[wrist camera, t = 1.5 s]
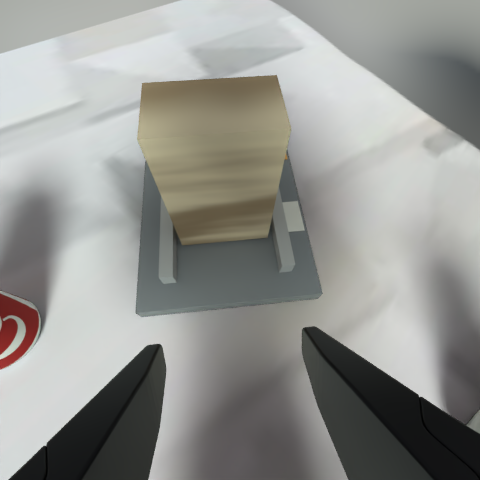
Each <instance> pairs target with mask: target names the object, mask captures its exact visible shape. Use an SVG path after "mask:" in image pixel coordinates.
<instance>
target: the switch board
mask: <svg viewBox="0 0 480 480" xmlns="http://www.w3.org/2000/svg"><path fill="white" fill-rule="evenodd" d="M322 294H323V293H322V289H321V285H320V281H319V277H318V273H317V269H316V265H315V261H314V257H313V253H312V249H311V245H310V241H309V237H308V233H307V228H306V224H305V220H304V216H303V212H302V208H301V204H300V200H299V196H298V192H297V188H296V184H295V180H294V176H293V172H292V168H291V164H290V160H289V156H288V152H287V150H286V155H285V160H284V164H283V169H282V173H281V178H280V183H279V187H278V192H277V196H276V201H275V206H274V210H273V215H272V219H271V224H270V229H269V233H268V238H258V239H247V240H237V241H226V242H215V243H204V244H193V245H182V244H181V241H180V239H179V237H178V234H177V232H176V230H175V227H174V225H173V223H172V220H171V218H170V216H169V213H168V211H167V208H166V206H165V204H164V201H163V199H162V197H161V194H160V192H159V190H158V187H157V185H156V182H155V180H154V178H153V175H152V173H151V171H150V168H149V166H148V164H147V161H146V162H145V177H144V192H143V207H142V222H141V237H140V252H139V267H138V283H137V298H136V314H138V315H140V316H141V317H147V316H156V315H166V314H175V313H185V312H194V311H204V310H213V309H223V308H233V307H242V306H252V305H261V304H271V303H280V302H290V301H299V300H309V299H318V298H319V297H320V296H321V295H322Z"/></svg>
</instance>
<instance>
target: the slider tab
mask: <svg viewBox="0 0 480 480" xmlns="http://www.w3.org/2000/svg"><path fill="white" fill-rule="evenodd" d="M290 132H291V126H290V122H289V119H288V115H287V111H286V108H285V104H284V100H283V96H282V93H281V89H280V85H279V82H278V78H277V75H273V76H256V77H238V78H221V79H204V80H187V81H169V82H152V83H142V91H141V103H140V114H139V125H138V136H137V140H138V142H139V145H140V147H141V149H142V152H143V154H144V157H145V159H146V161H147V164H148V166H149V168H150V171H151V173H152V175H153V178H154V180H155V182H156V185H157V187H158V190H159V192H160V194H161V197H162V199H163V201H164V204H165V206H166V208H167V211H168V213H169V216H170V218H171V220H172V223H173V225H174V227H175V230H176V232H177V234H178V237H179V239H180V241H181V244H182V245H193V244H204V243H215V242H226V241H237V240H247V239H258V238H268V233H269V229H270V224H271V219H272V215H273V210H274V206H275V201H276V196H277V192H278V187H279V183H280V178H281V173H282V169H283V164H284V160H285V155H286V150H287V146H288V141H289V137H290Z"/></svg>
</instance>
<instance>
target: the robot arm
mask: <svg viewBox="0 0 480 480" xmlns="http://www.w3.org/2000/svg"><path fill="white" fill-rule="evenodd" d="M302 355H303V359H304V362H305V365H306V369H307V372H308V375H309V379H310V382H311V385H312V389H313V392H314V395H315V399H316V402H317V405H318V408H319V410H320V413H321V415H322V418H323V420H324V422H325V425H326V427H327V429H328V432H329V434H330V437H331V439H332V441H333V444H334V446H335V449H336V451H337V453H338V456H339V458H340V461H341V463H342V465H343V468H344V470H345V472H346V475H347V477H348V480H480V433H478V432H476V431H475V430H473V429H471V428H470V427H468V426H466V425H465V424H463V423H461V422H460V421H458V420H457V419H455V418H454V417H452V416H450V415H449V414H447V413H446V412H444V411H443V410H441V409H439V408H438V407H436V406H435V405H433V404H432V403H430V402H429V401H427V400H426V399H424V398H423V397H420V398H419V395H418V394H417V393H415V392H414V391H412V390H410V389H409V388H407V387H406V386H404V385H403V384H401V383H400V382H398V381H397V380H395V379H394V378H392V377H391V376H389V375H388V374H386V373H385V372H383V371H382V370H380V369H379V368H377V367H376V366H374V365H373V364H371V363H370V362H368V361H367V360H365V359H364V358H362V357H361V356H359V355H358V354H356V353H355V352H353V351H352V350H350V349H349V348H347V347H346V346H344V345H343V344H341V343H340V342H338V341H337V340H335V339H334V338H332V337H331V336H329V335H328V334H326V333H325V332H323V331H322V330H320V329H319V328H317V327H305V328H303V329H302ZM165 379H166V363H165V358H164V353H163V348H162V346H161V345H160V344H154V345H148V346H146V347H145V348H144V349H143V350H142V351H141V352H140V353H139V354H138V355H137V356H136V357H135V358H134V359H133V360H132V361H131V362H130V363H129V364H128V365H126V366H125V367H124V368H123V369H122V370H121V371H120V372H119V373H118V374H117V375H116V376H115V377H114V378H113V379H112V380H111V381H110V382H109V383H108V384H107V385H106V386H105V387H104V388H103V389H102V390H101V391H100V392H99V393H98V394H97V395H96V396H95V397H94V398H93V399H92V400H91V401H89V402H88V403H87V404H86V405H85V406H84V407H83V408H82V409H81V410H80V411H79V412H78V413H77V414H76V415H75V416H74V417H73V418H72V419H71V420H70V421H69V422H68V423H67V424H66V425H65V426H64V427H63V428H62V429H61V430H60V431H59V432H58V433H57V434H56V435H55V436H54V437H52V438H51V439H50V440H49V441H48V442H47V447H46V446H43V447H42V448H41V449H40V450H39V451H38V452H37V453H36V454H35V455H34V456H33V457H32V458H31V459H30V460H29V461H28V462H27V463H26V464H24V465H23V466H22V467H21V468H20V469H19V470H18V471H17V472H16V473H15V474H14V475H13V476H12V477H11V478H10V479H9V480H148V478H149V474H150V469H151V465H152V460H153V456H154V451H155V447H156V442H157V438H158V433H159V428H160V421H161V413H162V405H163V396H164V387H165Z"/></svg>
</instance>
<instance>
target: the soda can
mask: <svg viewBox="0 0 480 480" xmlns="http://www.w3.org/2000/svg"><path fill="white" fill-rule="evenodd" d="M40 330H41V318H40V314H39V312H38V310H37V308H36V307H35V305H34V304H33V303H31V302H30V301H28V300H26V299H23V298H20V297H18V296H15V295H12V294H9V293H6V292H4V291H1V290H0V370H1V369H4V368H7V367H9V366H11V365H12V364H14V363H16V362H17V361H19V360H20V359H21V358H23V357H24V356H25V355H26V354H27V353H28V352H29V351H30V350H31V349H32V347H33V346H34V344H35V343H36V341H37V339H38V337H39V334H40Z"/></svg>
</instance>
